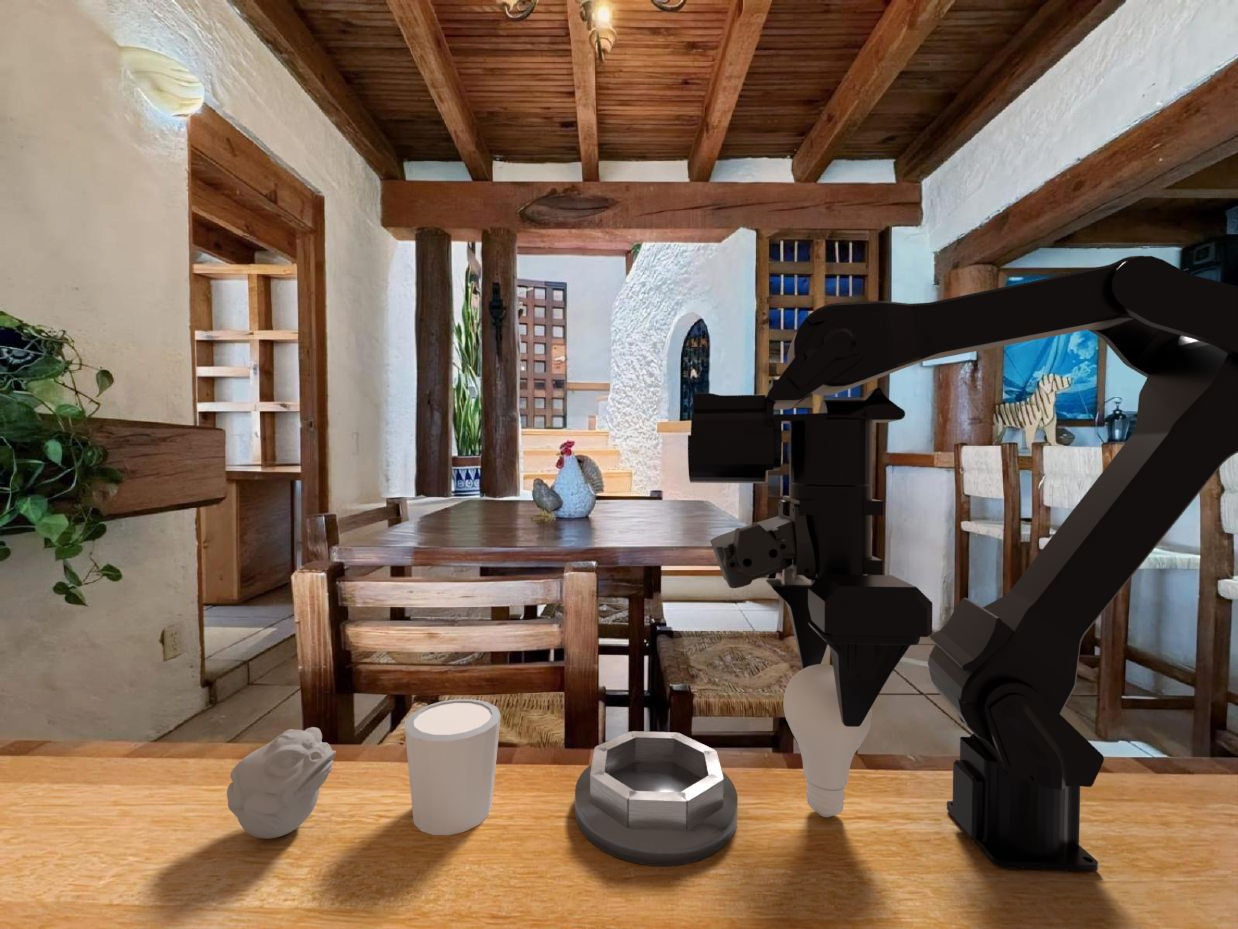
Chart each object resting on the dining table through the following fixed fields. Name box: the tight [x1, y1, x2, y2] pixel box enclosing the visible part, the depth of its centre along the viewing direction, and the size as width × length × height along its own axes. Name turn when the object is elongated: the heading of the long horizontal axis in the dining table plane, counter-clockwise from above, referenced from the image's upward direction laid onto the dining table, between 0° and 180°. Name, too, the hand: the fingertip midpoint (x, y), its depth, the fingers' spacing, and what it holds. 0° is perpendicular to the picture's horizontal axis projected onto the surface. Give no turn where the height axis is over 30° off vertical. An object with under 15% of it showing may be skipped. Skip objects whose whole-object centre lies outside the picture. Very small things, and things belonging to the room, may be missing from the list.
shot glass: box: [404, 698, 502, 836], centre depth 42 cm, size 7×7×7 cm
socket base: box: [574, 730, 739, 867], centre depth 43 cm, size 12×12×4 cm
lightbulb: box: [782, 663, 873, 818], centre depth 42 cm, size 6×6×11 cm
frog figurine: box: [226, 726, 337, 840], centre depth 40 cm, size 6×7×7 cm
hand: (828, 696), depth 42 cm, fingers open, 9 cm apart
